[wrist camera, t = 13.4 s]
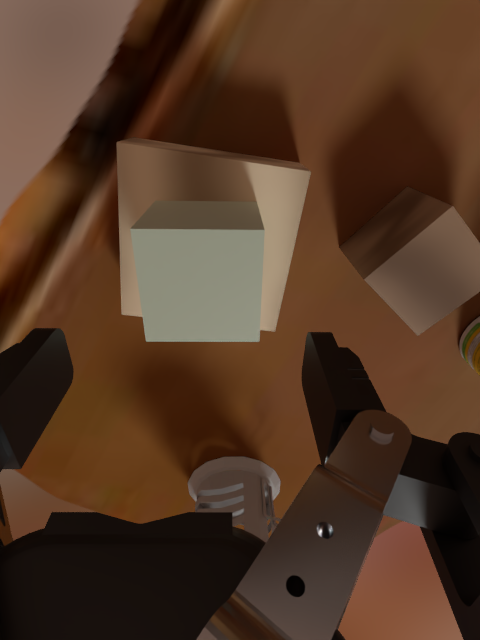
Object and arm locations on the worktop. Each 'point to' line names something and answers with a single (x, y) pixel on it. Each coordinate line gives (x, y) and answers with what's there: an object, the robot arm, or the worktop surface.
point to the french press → (238, 492)
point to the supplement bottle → (471, 345)
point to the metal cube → (417, 258)
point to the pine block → (211, 185)
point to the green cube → (200, 270)
